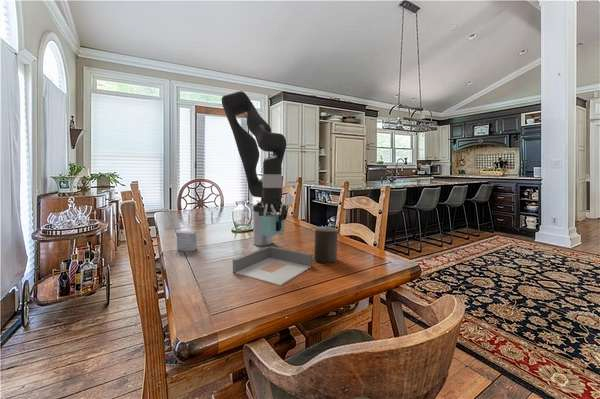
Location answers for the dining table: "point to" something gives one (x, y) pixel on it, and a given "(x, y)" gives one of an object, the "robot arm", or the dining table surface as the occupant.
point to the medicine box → (186, 241)
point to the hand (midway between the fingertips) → (272, 229)
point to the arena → (272, 264)
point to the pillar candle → (325, 244)
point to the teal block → (269, 225)
